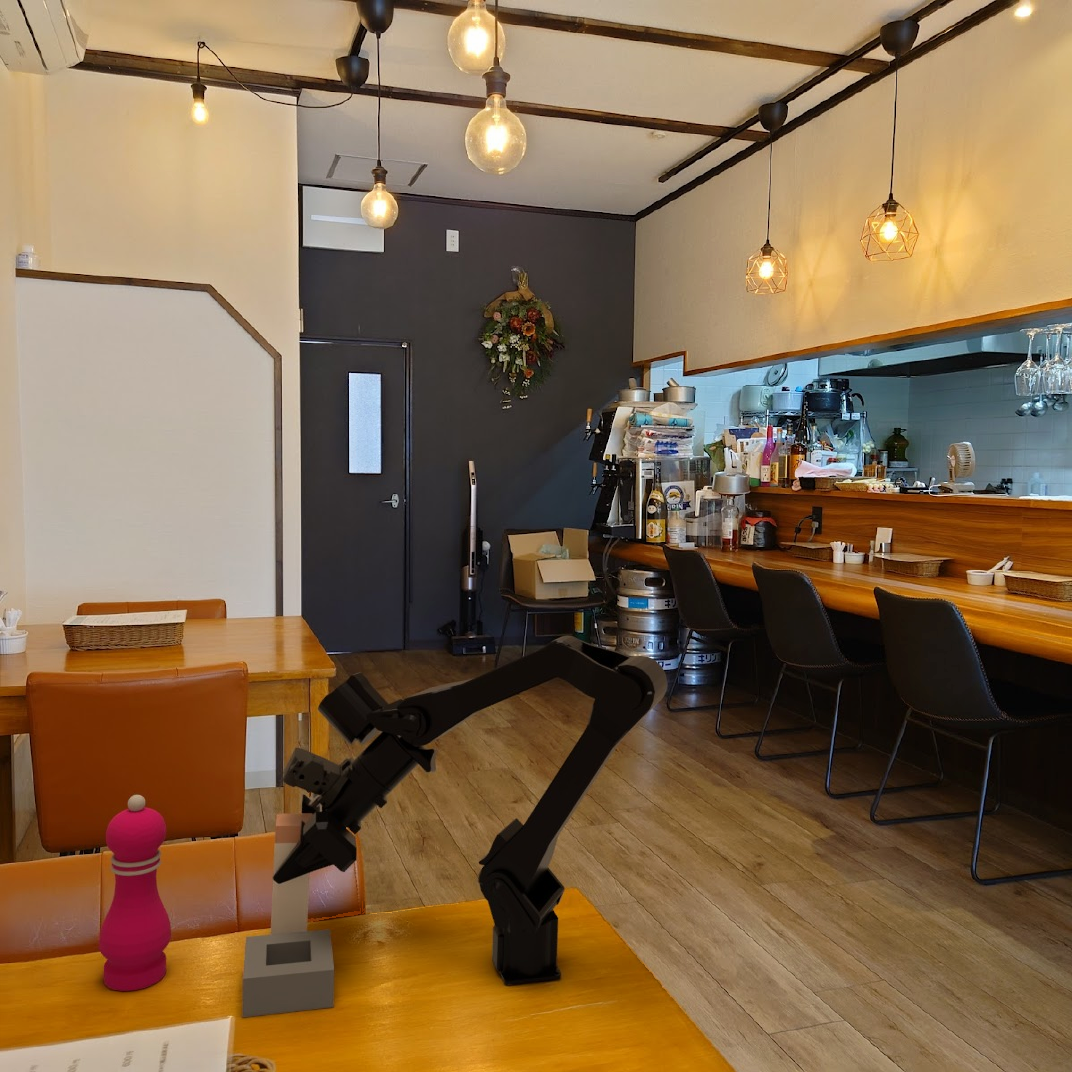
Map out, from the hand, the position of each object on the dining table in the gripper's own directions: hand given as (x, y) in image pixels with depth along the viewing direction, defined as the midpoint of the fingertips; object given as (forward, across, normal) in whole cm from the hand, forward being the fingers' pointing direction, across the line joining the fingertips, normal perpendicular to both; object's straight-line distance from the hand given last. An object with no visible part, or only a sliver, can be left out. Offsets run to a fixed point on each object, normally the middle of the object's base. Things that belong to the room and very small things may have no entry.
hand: (276, 871), depth 110 cm
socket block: (+5, +10, +8) cm, 13 cm away
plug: (+5, 0, +7) cm, 9 cm away
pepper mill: (+17, +4, -4) cm, 18 cm away
